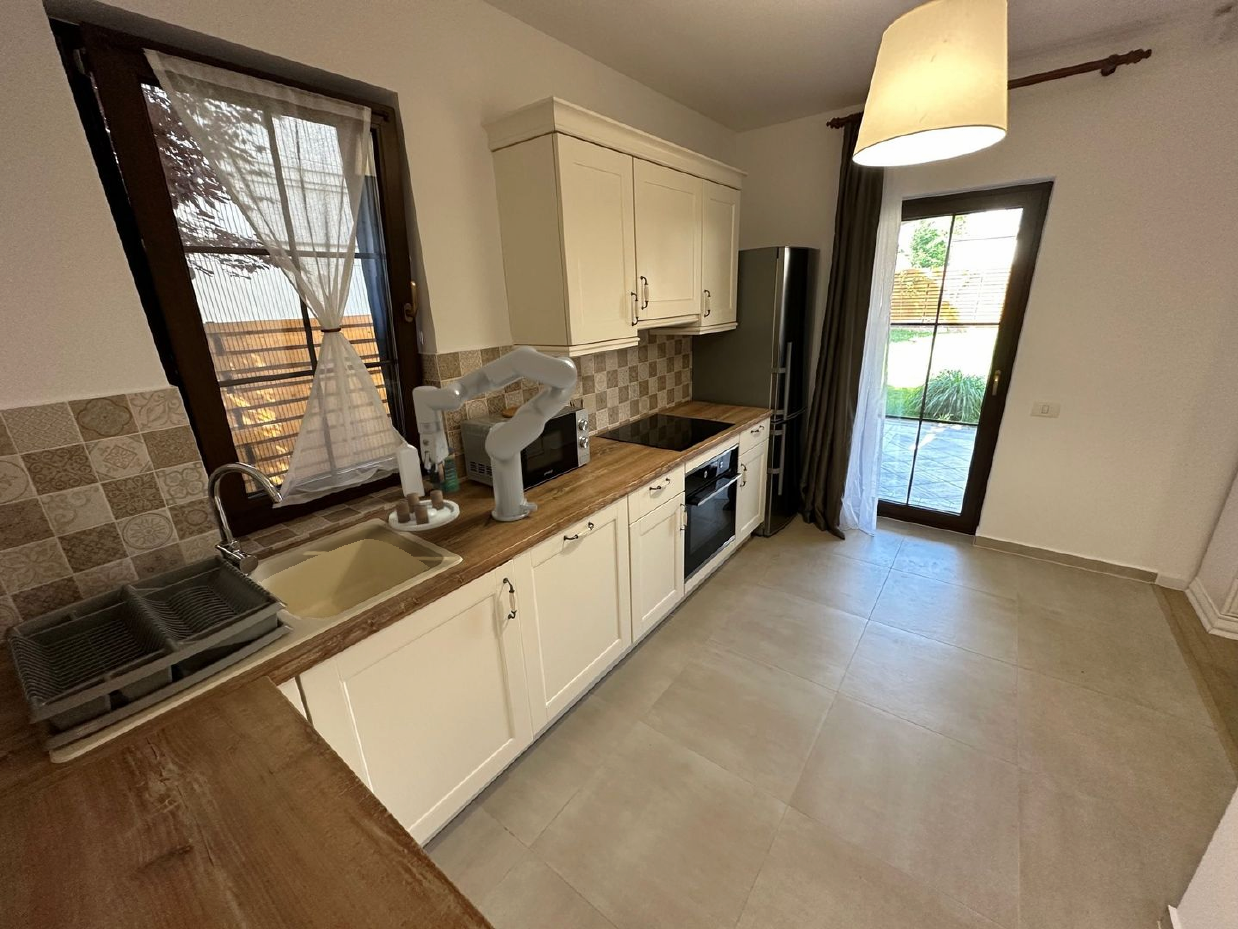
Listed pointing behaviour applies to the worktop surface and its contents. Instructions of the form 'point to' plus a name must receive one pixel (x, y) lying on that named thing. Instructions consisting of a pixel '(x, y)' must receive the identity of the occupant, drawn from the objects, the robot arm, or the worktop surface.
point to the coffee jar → (449, 474)
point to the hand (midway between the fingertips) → (438, 480)
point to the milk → (409, 469)
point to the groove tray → (434, 515)
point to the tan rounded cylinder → (440, 472)
